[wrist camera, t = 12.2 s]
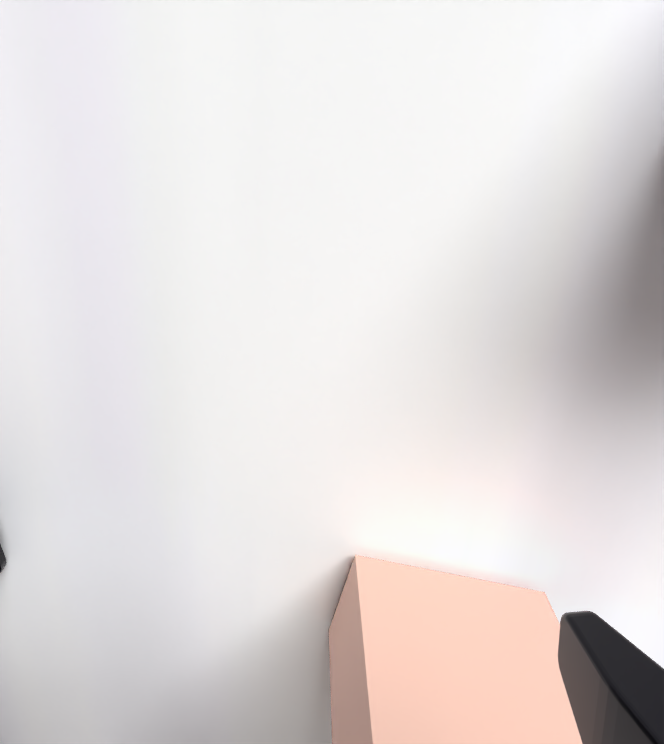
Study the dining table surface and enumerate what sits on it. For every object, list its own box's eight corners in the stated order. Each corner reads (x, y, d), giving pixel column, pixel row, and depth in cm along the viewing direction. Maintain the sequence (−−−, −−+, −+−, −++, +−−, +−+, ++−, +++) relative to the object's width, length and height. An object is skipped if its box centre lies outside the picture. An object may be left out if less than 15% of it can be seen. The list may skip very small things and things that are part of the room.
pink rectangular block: (328, 629, 26) (337, 923, 16) (355, 554, 24) (380, 832, 15) (508, 662, 27) (610, 955, 17) (544, 592, 25) (678, 873, 16)
